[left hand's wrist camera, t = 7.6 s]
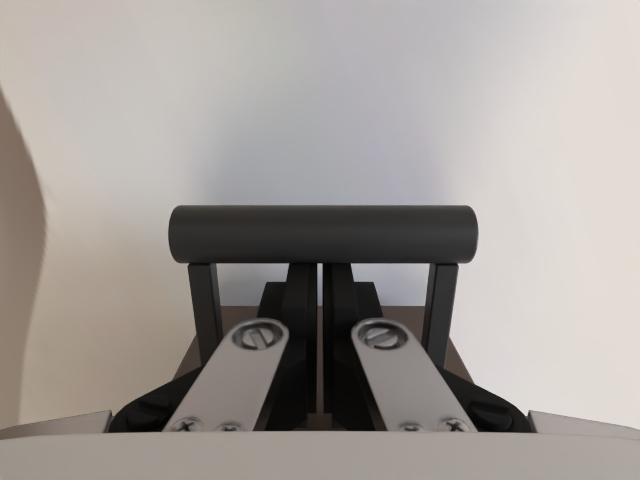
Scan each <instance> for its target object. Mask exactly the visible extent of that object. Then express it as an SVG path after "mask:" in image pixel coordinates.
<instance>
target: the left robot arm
mask: <svg viewBox="0 0 640 480" xmlns="http://www.w3.org/2000/svg"><path fill="white" fill-rule="evenodd" d="M316 413H317V263H289V268H288V274H287V279H286V282H267V283H266V285H265V289H264V292H263V295H262V299H261V302H260V306H259V309H258V312H257V316H256V318H253V319H248V320H245V321H242V322H240V323H238V324H236V325H235V326H233V327H232V328H231V329H230V330H229V331H228V332H227V334H226V335H225V337H224V338H223V340H222V341H221V343H220V344H219V346H218V347H217V349H216V350H215V352H214V353H213V355H212V356H211V358H210V359H209V361H208V362H207V363H206V364H204V365H202V366H200V367H198V368H196V369H194V370H192V371H190V372H188V373H186V374H185V375H183V376H181V377H179V378H177V379H175V380H173V381H171V382H169V383H167V384H165V385H163V386H161V387H159V388H157V389H155V390H153V391H151V392H149V393H147V394H145V395H143V396H141V397H139V398H137V399H135V400H134V401H132V402H131V403H129V404H127V405H126V406H124V407H123V408H122V409H121V410H120V411H119V412H118V413H117V414H116V415H115V416H112V412H111V410H108V411H102V412H96V413H90V414H84V415H78V416H72V417H67V418H61V419H55V420H49V421H43V422H37V423H31V424H25V425H19V426H13V427H9V428H6V429H2V430H0V480H640V430H638V429H634V428H631V427H627V426H621V425H615V424H609V423H603V422H597V421H591V420H585V419H579V418H573V417H568V416H562V415H556V414H550V413H544V412H538V411H532V410H529V412H528V416H525V415H524V414H523V413H522V412H521V411H520V410H519V409H518V408H517V407H515V406H514V405H513V404H511V403H509V402H508V401H506V400H505V399H503V398H501V397H499V396H497V395H495V394H493V393H491V392H489V391H487V390H485V389H483V388H481V387H479V386H477V385H475V384H473V383H471V382H469V381H467V380H465V379H463V378H461V377H459V376H457V375H455V374H453V373H451V372H449V371H448V370H446V369H444V368H442V367H440V366H438V365H436V364H434V363H433V362H432V361H431V359H430V358H429V356H428V355H427V353H426V352H425V350H424V349H423V347H422V346H421V344H420V343H419V341H418V340H417V338H416V337H415V335H414V334H413V332H412V331H411V330H410V329H409V328H408V327H407V326H405V325H404V324H402V323H400V322H398V321H395V320H392V319H387V318H384V316H383V313H382V309H381V306H380V302H379V299H378V296H377V292H376V289H375V285H374V283H373V282H354V280H353V274H352V269H351V263H323V414H332V428H344V429H346V430H347V431H293V430H294V429H295V428H308V414H316Z"/></svg>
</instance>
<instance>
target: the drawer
mask: <svg viewBox="0 0 640 480" xmlns="http://www.w3.org/2000/svg"><path fill="white" fill-rule="evenodd" d="M168 238H169V246H170V251H171V254H172V256H173V258H174V260H175V261H176V262H178V263H189V265H188V274H189V281H190V288H191V296H192V303H193V311H194V318H195V326H196V333H197V334H196V336H195V338H194V339H193V341H192V343H191V345H190V347H189V349H188V351H187V353H186V355H185V357H184V359H183V361H182V362H181V364H180V366H179V368H178V370H177V372H176V374H175V376H174V378H173V380H175V379H177V378H179V377H181V376H183V375H185V374H186V373H188V372H190V371H192V370H194V369H196V368H198V367H200V366H202V365H204V364H206V363H207V362H208V361H209V359H210V358H211V356H212V355H213V353H214V352H215V350H216V349H217V347H218V346H219V344H220V343H221V341H222V340H223V338H224V337H225V335H226V334H227V332H228V331H229V330H230V329H231V328H232V327H233V326H235V325H236V324H238V323H240V322H242V321H245V320H248V319H253V318H256V316H257V312H258V309H259V306H220V297H219V288H218V278H217V269H216V263H430V267H429V276H428V285H427V294H426V303H425V306H381V309H382V313H383V316H384V318H387V319H392V320H395V321H398V322H400V323H402V324H404V325H405V326H407V327H408V328H409V329H410V330H411V331H412V332H413V334H414V335H415V337H416V338H417V340H418V341H419V343H420V344H421V346H422V347H423V349H424V350H425V352H426V353H427V355H428V356H429V358H430V359H431V361H432V362H433V363H434V364H436V365H438V366H440V367H442V368H444V369H446V370H448V371H449V372H451V373H453V374H455V375H457V376H459V377H461V378H463V379H465V380H467V381H469V382H471V383H473V384H474V382H473V380H472V378H471V376H470V374H469V373H468V371H467V369H466V367H465V365H464V363H463V361H462V359H461V358H460V356H459V354H458V352H457V350H456V348H455V346H454V345H453V343H452V341H451V339H450V337H449V333H450V326H451V318H452V311H453V304H454V297H455V290H456V283H457V276H458V269H459V266H458V264H457V263H469V262H470V261H471V260H472V259H473V258H474V256H475V253H476V250H477V245H478V223H477V218H476V215H475V213H474V211H473V209H472V208H471V207H469V206H439V205H180V206H177V207H176V208H175V209H174V210H173V212H172V214H171V217H170V221H169V230H168ZM173 380H172V381H173ZM293 431H347V430H346V429H344V428H332V414H323V306H317V413H316V414H308V428H295V429H294V430H293Z"/></svg>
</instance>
